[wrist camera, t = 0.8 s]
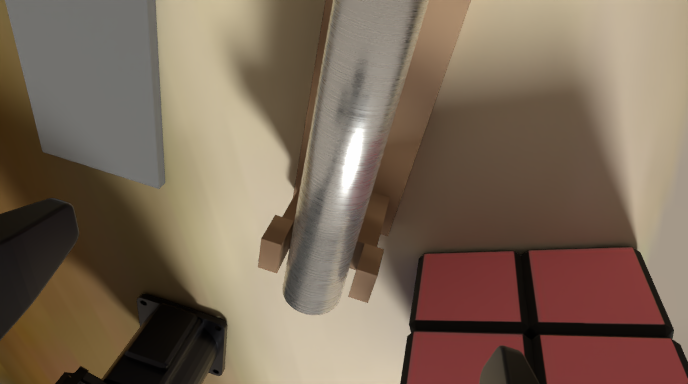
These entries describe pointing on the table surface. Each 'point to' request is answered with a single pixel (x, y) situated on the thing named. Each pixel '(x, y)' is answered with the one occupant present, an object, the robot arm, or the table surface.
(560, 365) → the puzzle cube
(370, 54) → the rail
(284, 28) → the table surface
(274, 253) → the rack
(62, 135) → the mat
